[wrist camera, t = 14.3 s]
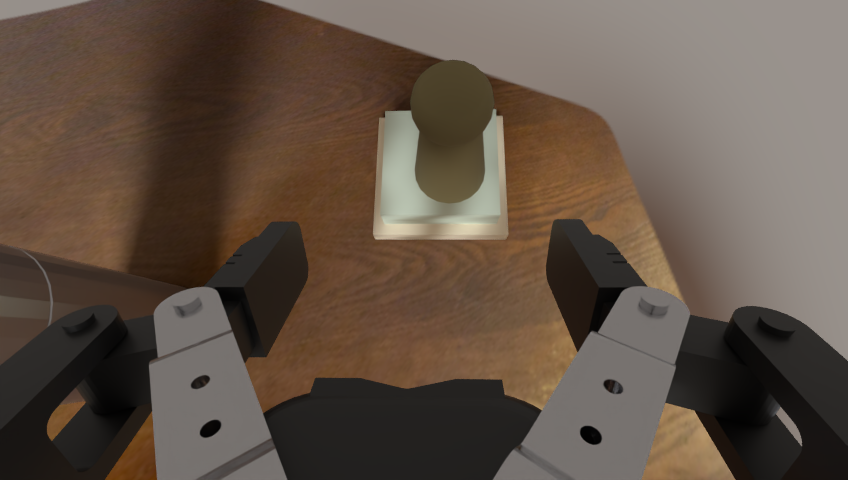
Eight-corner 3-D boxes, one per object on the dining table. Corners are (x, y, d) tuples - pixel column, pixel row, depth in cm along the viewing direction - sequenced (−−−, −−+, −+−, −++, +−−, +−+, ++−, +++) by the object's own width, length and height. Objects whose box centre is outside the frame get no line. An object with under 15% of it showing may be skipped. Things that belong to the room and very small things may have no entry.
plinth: (375, 239, 35) (367, 226, 31) (381, 126, 38) (374, 102, 35) (505, 239, 35) (513, 226, 31) (500, 124, 38) (506, 99, 34)
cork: (471, 213, 31) (486, 144, 21) (404, 190, 32) (384, 114, 22) (494, 151, 33) (518, 57, 22) (429, 131, 34) (422, 32, 23)
